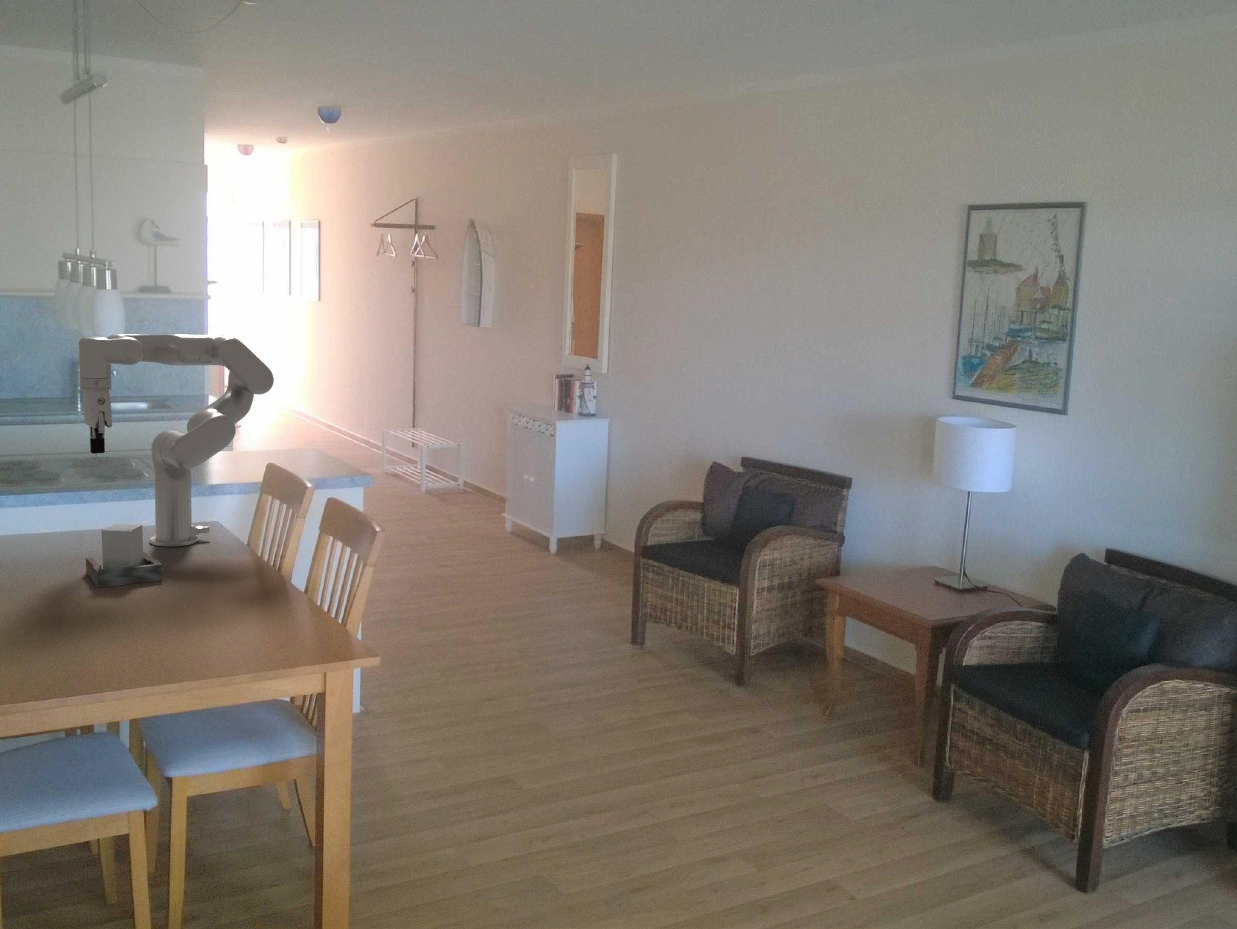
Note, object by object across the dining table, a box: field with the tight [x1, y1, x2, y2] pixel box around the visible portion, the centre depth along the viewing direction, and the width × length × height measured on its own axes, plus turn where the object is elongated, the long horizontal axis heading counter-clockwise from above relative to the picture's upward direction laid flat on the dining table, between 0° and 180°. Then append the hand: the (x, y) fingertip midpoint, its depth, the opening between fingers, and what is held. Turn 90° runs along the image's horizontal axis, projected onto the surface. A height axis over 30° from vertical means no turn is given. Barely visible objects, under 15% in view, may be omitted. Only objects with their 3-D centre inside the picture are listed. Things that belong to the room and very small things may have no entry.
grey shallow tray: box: [85, 551, 164, 588], centre depth 281 cm, size 15×14×4 cm
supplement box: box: [101, 523, 144, 570], centre depth 281 cm, size 7×7×13 cm
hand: (97, 452), depth 299 cm, fingers closed
